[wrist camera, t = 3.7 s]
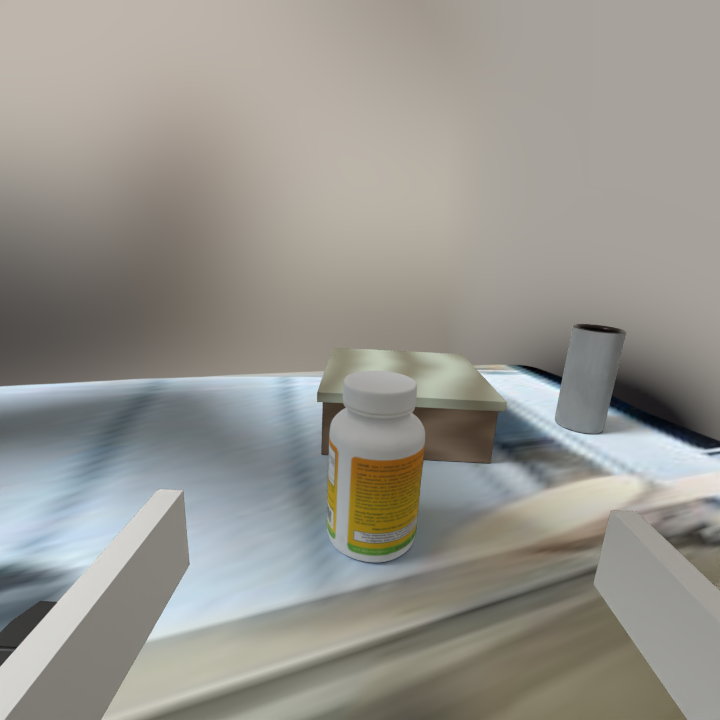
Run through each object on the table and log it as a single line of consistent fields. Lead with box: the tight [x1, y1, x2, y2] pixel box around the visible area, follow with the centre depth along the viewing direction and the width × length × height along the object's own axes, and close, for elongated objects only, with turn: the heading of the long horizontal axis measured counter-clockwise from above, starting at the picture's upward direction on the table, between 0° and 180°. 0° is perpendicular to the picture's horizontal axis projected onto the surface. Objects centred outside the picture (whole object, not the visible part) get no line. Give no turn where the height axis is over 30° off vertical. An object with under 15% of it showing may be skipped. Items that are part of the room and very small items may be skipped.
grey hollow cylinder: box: [555, 324, 626, 434], centre depth 40 cm, size 4×4×10 cm
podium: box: [317, 348, 507, 463], centre depth 38 cm, size 15×15×6 cm
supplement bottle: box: [327, 371, 425, 562], centre depth 23 cm, size 5×5×10 cm
